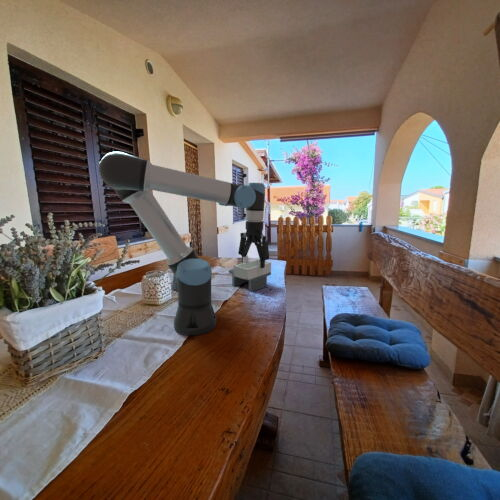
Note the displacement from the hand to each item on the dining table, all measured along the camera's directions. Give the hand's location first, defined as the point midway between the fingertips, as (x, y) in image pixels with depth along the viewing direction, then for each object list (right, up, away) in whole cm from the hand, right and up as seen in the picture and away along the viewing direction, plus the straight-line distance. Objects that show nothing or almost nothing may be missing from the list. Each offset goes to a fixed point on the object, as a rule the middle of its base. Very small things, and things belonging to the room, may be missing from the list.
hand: (252, 272), depth 111 cm
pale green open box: (0, 0, 0) cm, 1 cm away
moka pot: (-37, -10, +18) cm, 42 cm away
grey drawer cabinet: (-1, -9, +24) cm, 26 cm away
